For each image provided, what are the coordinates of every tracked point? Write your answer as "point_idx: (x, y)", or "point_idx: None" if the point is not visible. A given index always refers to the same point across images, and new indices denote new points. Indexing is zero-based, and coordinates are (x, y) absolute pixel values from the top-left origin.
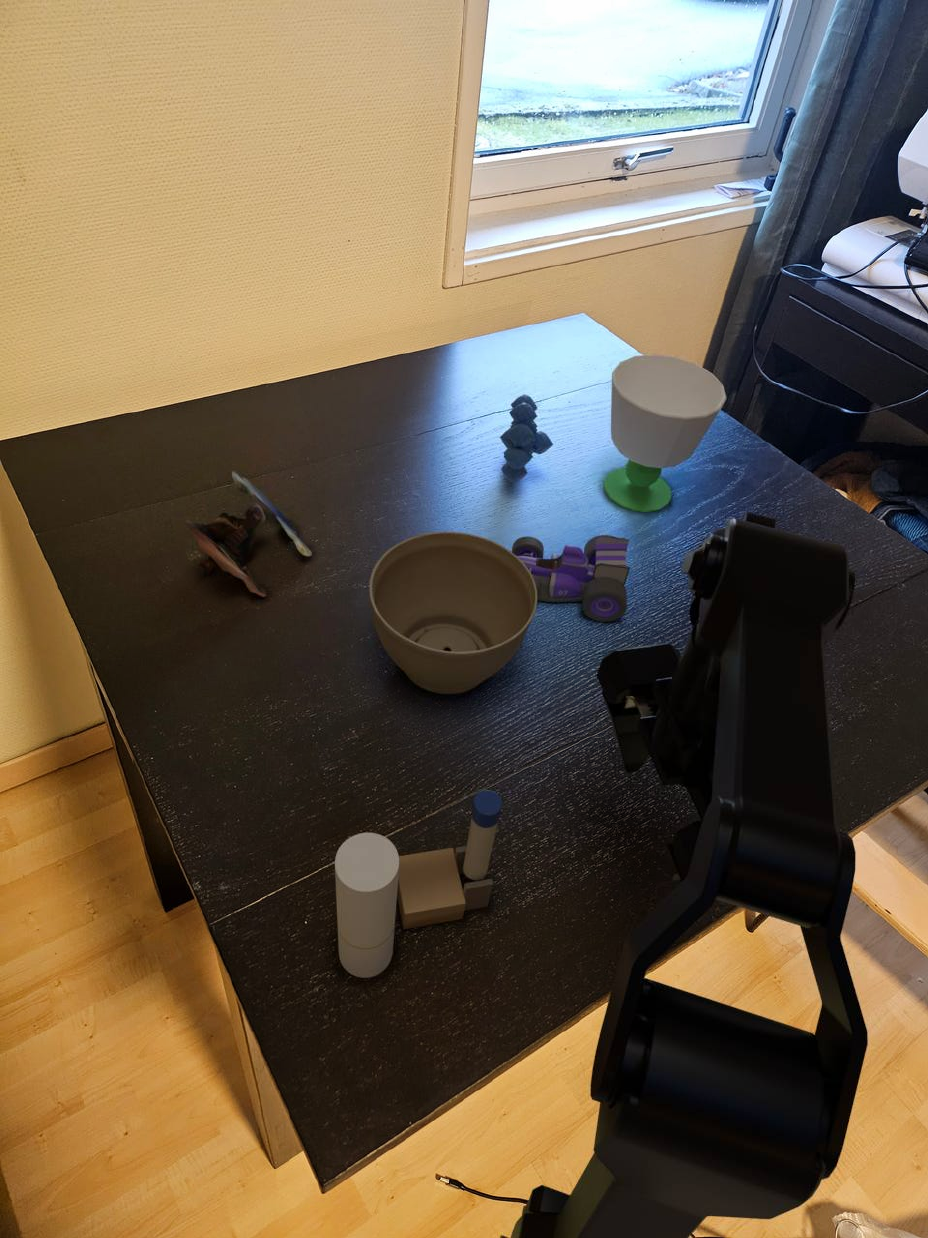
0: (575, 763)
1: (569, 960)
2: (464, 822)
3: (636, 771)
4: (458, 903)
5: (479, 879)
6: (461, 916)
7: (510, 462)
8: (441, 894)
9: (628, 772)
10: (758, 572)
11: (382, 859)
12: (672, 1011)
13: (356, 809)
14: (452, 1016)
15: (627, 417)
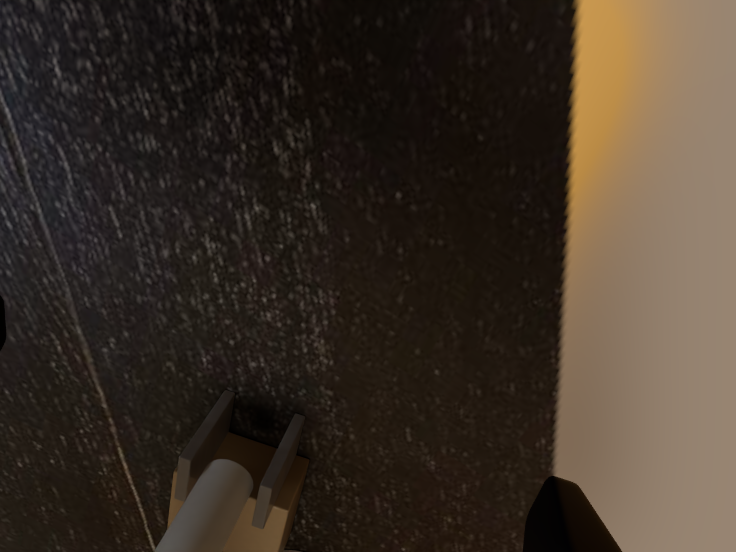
0: (31, 52)
1: (471, 354)
2: (131, 360)
3: (2, 301)
4: (283, 521)
5: (252, 488)
6: (305, 471)
7: None
8: (256, 532)
9: (3, 338)
10: None
11: None
12: None
13: (71, 484)
14: (452, 547)
15: None
